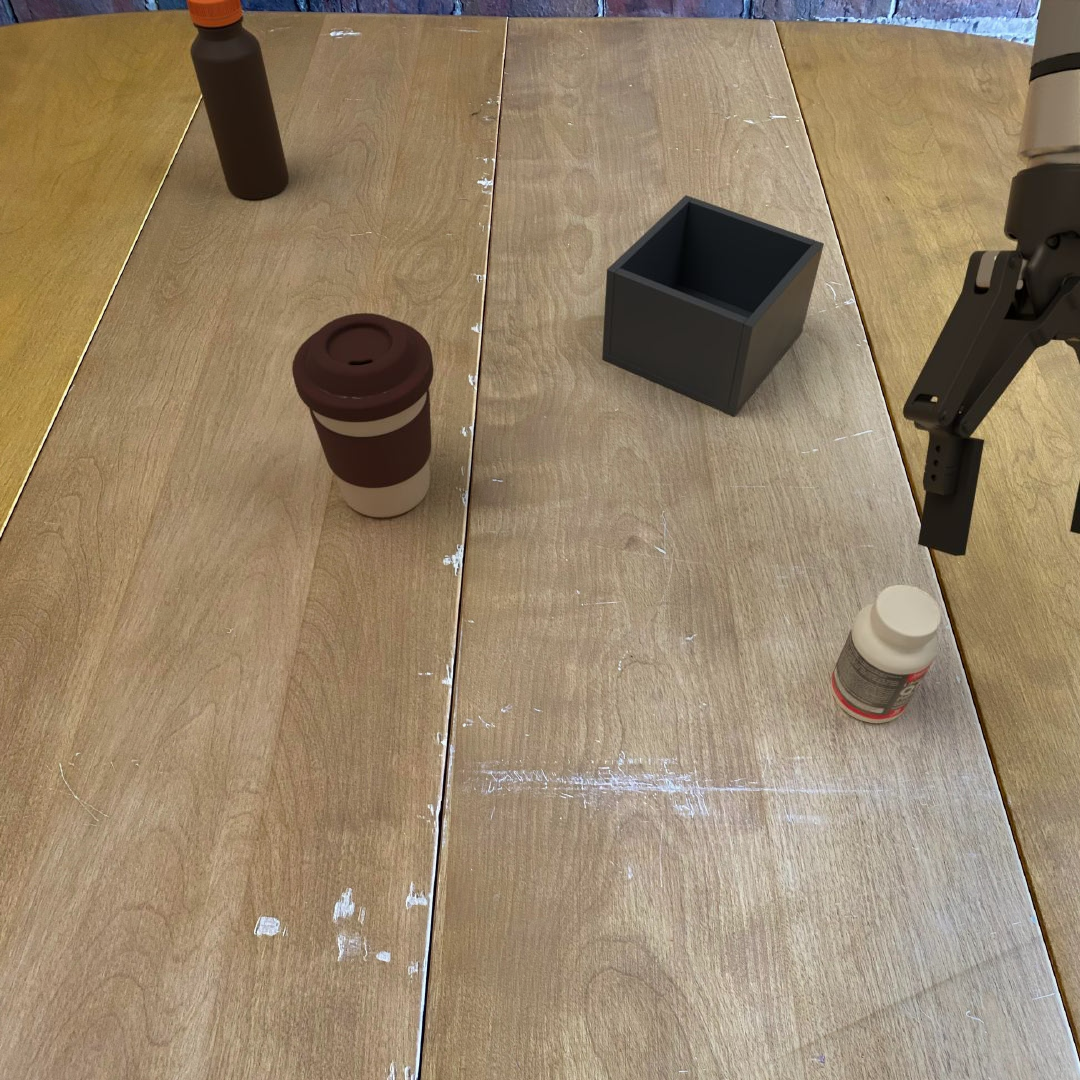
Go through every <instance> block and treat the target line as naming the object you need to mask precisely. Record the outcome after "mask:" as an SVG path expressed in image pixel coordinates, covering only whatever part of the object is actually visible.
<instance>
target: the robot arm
mask: <svg viewBox="0 0 1080 1080" xmlns="http://www.w3.org/2000/svg"><path fill="white" fill-rule="evenodd" d="M1036 24H1037V25H1036V28H1035V29H1036V30H1035V36H1034V43H1033V48H1032V56H1031V62H1030V73H1029V79H1028V89H1027V94H1026V95H1027V96H1026V101H1025V107H1024V113H1023V118H1022V124H1021V130H1020V135H1019V141H1018V147H1017V152H1016V157H1017V159H1019V161H1020V162H1022V163H1023V164H1025V165H1026V168H1023V169H1021V170H1019V171H1017V172H1016V175H1015V176H1012V177H1011V183H1010V188H1009V195H1008V202H1007V206H1006V213H1005V214H1006V215H1005V218H1004V219H1005V220H1004V226H1003V234H1004V236H1005V237H1006V238H1007V239H1008V240H1010V241H1012V242H1016V247H1015V250H1013V249H1011V250H1007V249H1006V250H1005V249H1004V250H1001V249H1000V250H999V249H998V250H974V252H972V253H971V255H970V257H969V259H968V264H967V266H966V272H965V276H964V281H963V284H962V288H961V291H960V293H959V295H958V297H957V300H956V302H955V304H954V306H953V308H952V310H951V312H950V313H949V315H948V317H947V319H946V322H945V324H944V325H943V327H942V330H941V332H940V333H939V336H938V337H937V340H936V341H935V343H934V346H933V347H932V350H931V351H930V354H929V355H928V357H927V359H926V361H925V362H924V365H923V367H922V369H921V371H920V373H919V375H918V376H917V379H916V381H915V383H914V385H913V387H912V389H911V391H910V393H909V395H908V396H907V398H906V400H905V402H904V405H903V408H902V415H903V418H904V419H905V420H907V421H910V422H913V425H914V427H915V429H916V430H919V431H925V432H928V445H927V451H926V457H925V464H924V471H923V477H922V486H923V487H922V488H923V491H925V495H924V502H923V507H922V508H923V510H922V516H921V521H920V527H919V533H918V541H917V545H919V546H921V547H925V548H928V549H932V550H934V551H938V552H941V553H945V554H948V555H950V556H954V557H962V556H963V557H964V556H966V552H967V546H968V541H969V534H970V529H971V524H972V523H971V522H972V517H973V511H974V505H975V500H976V499H975V498H976V493H977V487H978V482H979V475H980V469H981V463H982V458H983V451H984V446H985V439H982V438H978V437H972V435H973V434H974V433H975V432H976V430H977V429H978V427H979V426H980V425H981V424H982V422H983V421H984V419H985V418H986V417H987V416H988V414H989V412H990V411H991V410H992V409H993V407H994V406H995V405H996V403H997V402H998V400H1000V398H1001V396H1002V395H1003V394H1004V393H1005V391H1006V390H1007V389H1008V387H1009V386H1010V385H1011V383H1012V382H1013V380H1014V379H1015V378H1016V376H1018V374H1019V372H1020V371H1021V370H1022V368H1023V367H1024V365H1025V364H1026V363H1027V362H1028V360H1029V359H1030V358H1031V356H1032V355H1033V353H1034V352H1035V351H1036V350H1037V349H1039V348H1041V347H1044V346H1047V345H1048V344H1049V343H1051V341H1061V342H1062V341H1064V344H1066V345H1067V346H1069V347H1071V348H1072V349H1073V350H1074V352H1075V356H1076V358H1077V361H1078V364H1079V365H1080V0H1040V3H1039V10H1038V17H1037V23H1036ZM933 398H936V399H937V400H936V401H935V400H934V401H933ZM1070 523H1071V524H1070V528H1069V532H1070V533H1074V534H1078V535H1080V480H1079V481H1078V487H1077V492H1076V497H1075V503H1074V508H1073V513H1072V517H1071V522H1070Z"/></svg>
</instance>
